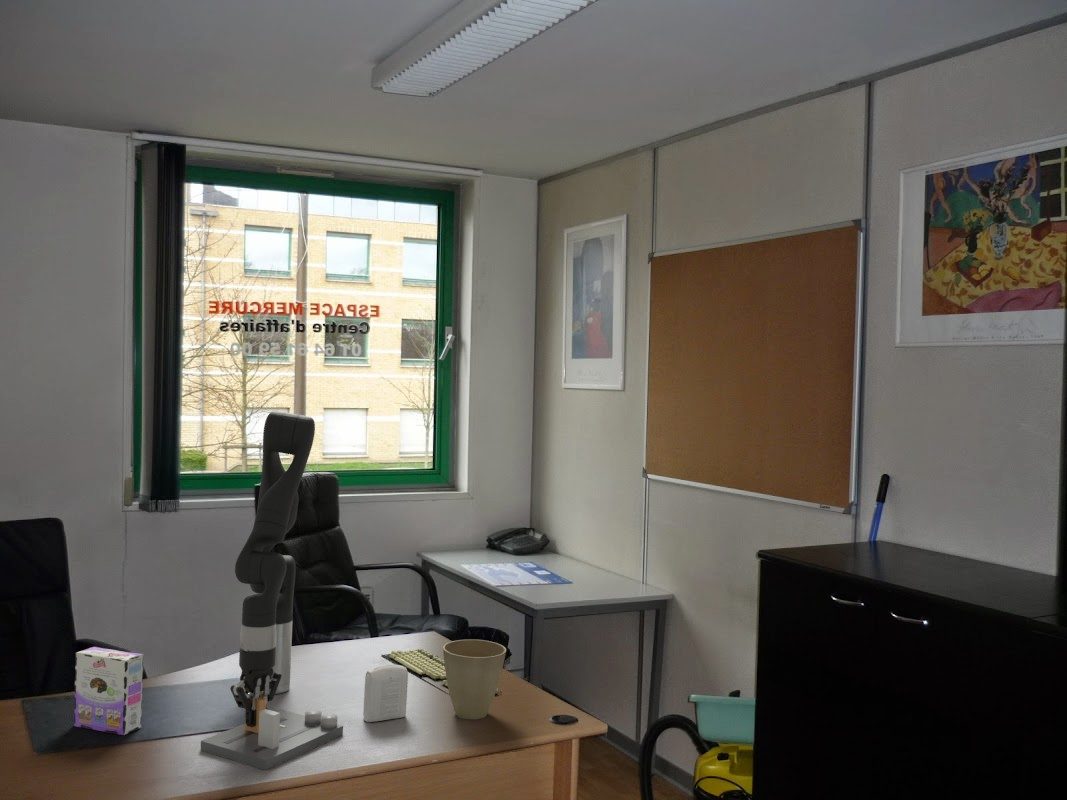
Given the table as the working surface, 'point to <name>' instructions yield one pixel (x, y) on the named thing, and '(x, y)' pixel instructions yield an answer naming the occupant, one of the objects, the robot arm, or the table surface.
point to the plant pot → (473, 675)
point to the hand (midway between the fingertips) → (254, 724)
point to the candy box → (108, 690)
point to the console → (274, 738)
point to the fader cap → (257, 714)
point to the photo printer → (385, 693)
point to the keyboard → (421, 664)
